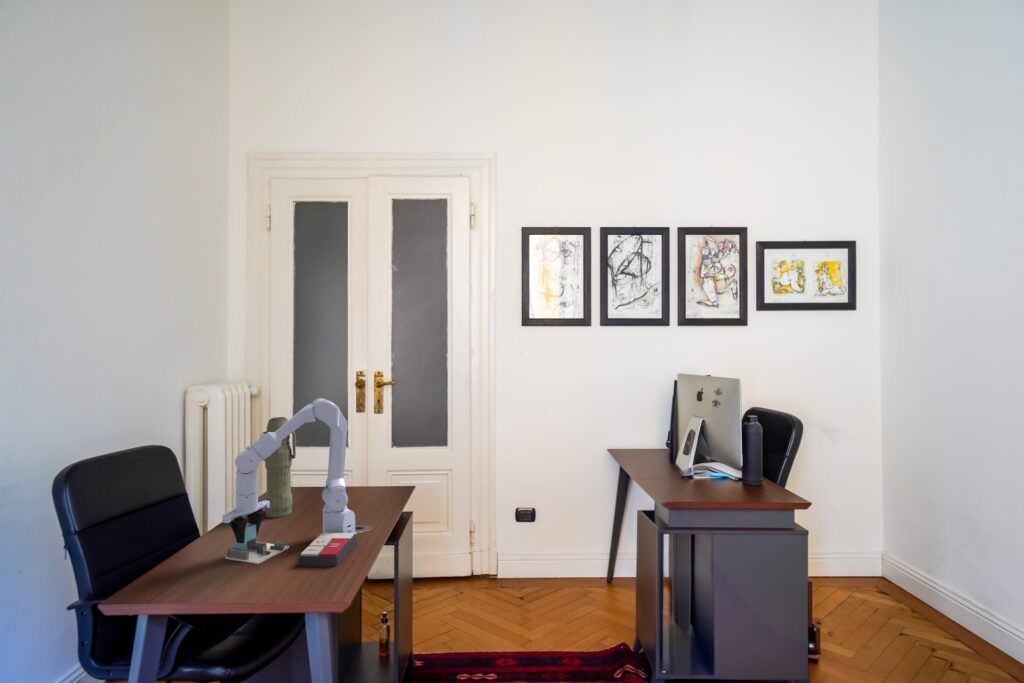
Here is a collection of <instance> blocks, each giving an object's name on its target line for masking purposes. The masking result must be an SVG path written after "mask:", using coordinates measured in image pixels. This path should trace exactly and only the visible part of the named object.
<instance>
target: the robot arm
mask: <svg viewBox="0 0 1024 683" xmlns="http://www.w3.org/2000/svg"><path fill="white" fill-rule="evenodd" d="M316 419H318V420H320V421H322V422H324V423H325V424H326V425H327V426H328V427H329V428H330V436H329V450H328V454H329V455H328V463H327V464H328V466H327V468H328V469H327V478H326V481H325V485H324V486H325V487H324V488H323V490H322V492H321V499H322V500H323V502H324V503H325V504H324V506H323V507H322V533H354V534H356V535H358V533H357V532H356V514H355V512H354V511H353V510H351V509H349V508H348V502H349V498H348V494H347V492H346V488H347V487H346V481H345V469H346V468H345V466H346V451H347V434H348V421H347V419H346V418H345V416H344V415H343V413H342V412H341V409H340V407H339V406H338V405H336V404H335V403H334V402H332V401H331V400H329V399H325V398H322V397H320V398H316V399H314V400H313V401H311V403H308V404H307V405H305V406H304V407H302V408H301V409H299V411H298V412H297V413H295V414H294V415H293V416H292V417H291V418H289V419H288V421H287V422H286V423H285V424H284V425H283V426H281V427H280V428H279V429H278V430H277V431H276V432H267V433H266V434H262V433H261V434H262V435H261V434H260V435H259V438H258V439H257V440H256V441H255V442H253V444H251V445H250V446H249V445H247V446H246V447H245V450H243V451H240V452H239V453H237V455H236V458H235V460H234V465H235V467H236V471H235V476H236V477H235V507H234V508H233V510H230V512H229V511H228V512H227V513H225V514H223V515H222V521H221V522H222V523H225V524H228V525H229V527H230V529H231V530H232V532H233V534H234V535H235V538H236V541H237V543H244V540H245V528H246V524H247V523H249V524H256V538H257V537H258V535H259V531H260V527H261V524H262V522H263V520H264V518H265V517H266V510H265V508H269V507H270V501H266V500H265V499H264V500H262V501H259V476H258V468H259V465H260V463H261V462H265V461H264V459H266V458H267V457H268V456H270V455H271V454H272V453H273V452H275V451H276V450H277V449H278V448H279V447H281V443H282V440H283V439H284V438H285V437H287V436H288V435H289V434H290V435H292V432H293V431H294V432H295V431H296V430H297V429H299V428H300V427H301V426H303V425H304V424H305V423H312V422H313V423H314V422H316V421H317V420H316ZM245 516H246V517H247V519H246V518H244V517H245ZM234 535H233V536H234Z"/></svg>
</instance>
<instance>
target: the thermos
mask: <svg viewBox="0 0 1024 683" xmlns="http://www.w3.org/2000/svg"><path fill="white" fill-rule="evenodd" d="M288 420H289V419H288V418H287V417H284V416H280V417H279V416H278V417H271V418H270V419H268V423H267V425H266V430H265V431H263V432H262V433H261V434H260V435H262V434H266V433H267V432H276V431H277V430H278V429H279V428H280V427H281V426H283V425H284V424H285V423H286V422H287V421H288ZM291 435H292V447H291V442H290V439H291ZM296 438H297V433H296V432H295V431H293V432H292V433H291V434H289V435H288V436H287V437H285V438H284V439H283V440H282V443H281V447H279V448H278V449H277V450H276V451H275V452H273V453H272V454H271V455H270V456H268V457H267V458H266V459H264V461H263V462H264V467H265V470H266V496H265V499H264V500H266V501H270V507H269V508H264V510H265V511H266V515H265V517H266V518H267V517H269V519H278V517H280V518H284V517H287V516H289V514H290V515H291V514H292V513H293V510H292V507H293V493H292V491H291V490H292V489H291V485H292V484H291V482H292V481H291V468H292V463H293V459H295V458H296V454H297V453H296V452H297V447H296V444H297V441H296V440H297V439H296Z"/></svg>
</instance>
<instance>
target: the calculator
mask: <svg viewBox="0 0 1024 683" xmlns="http://www.w3.org/2000/svg"><path fill="white" fill-rule="evenodd" d="M356 546H357V534H354V533H323V532H321V533H320V534H319V536H317V537H316V538H315V539H314V540H312V542H311V543H310V544H309V545H308V546H307V547H306V548H305V549H304V550H303V551H302V552H300V554H299V555H298V557H297V558H298V559H297V560H298V566H299V567H338V566H339V565H340V564H341V562H343V560H345V558H346V557H347V556H348V555H349V553H350V552H351V551H352V550H353V549H354V548H355V547H356Z"/></svg>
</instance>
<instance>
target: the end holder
mask: <svg viewBox="0 0 1024 683" xmlns="http://www.w3.org/2000/svg"><path fill="white" fill-rule="evenodd" d="M256 543H257V545H256V546H254V547H251V548H249V549H253V550H262V546H265V548H266V550H267V543H268V542H264V541H257V540H256ZM246 550H247V549H246ZM226 554H227V556H226V557H230V558H236V559H242V560H248V559H249V551H245V550H240V549H234V546H232V547H230V548H227V553H226Z"/></svg>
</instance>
